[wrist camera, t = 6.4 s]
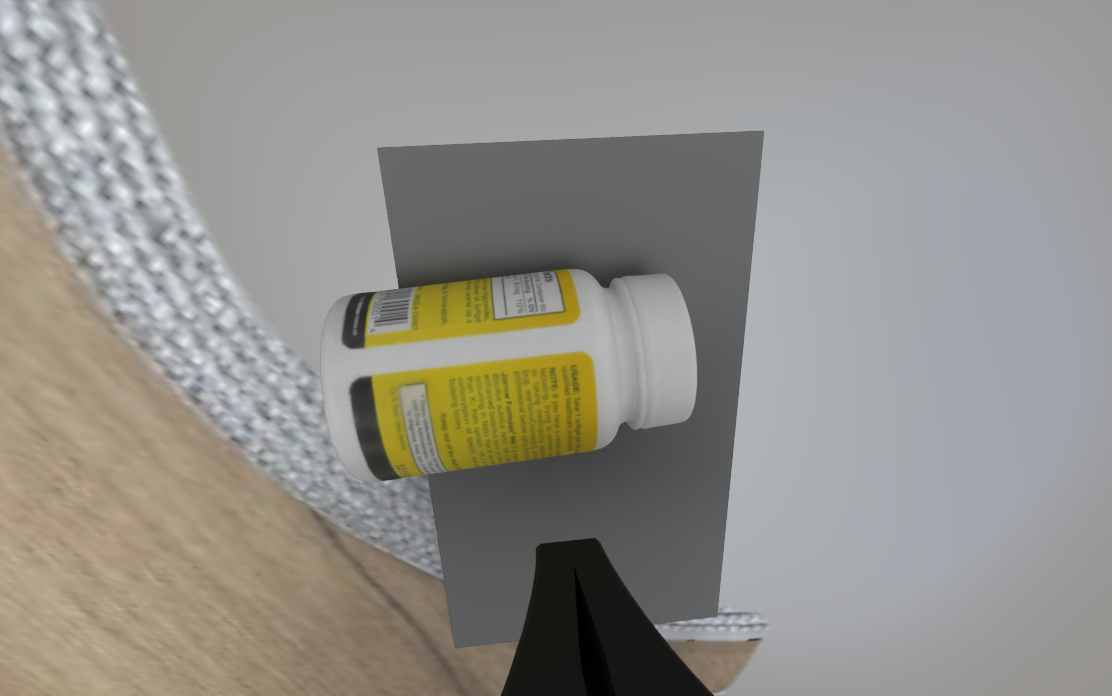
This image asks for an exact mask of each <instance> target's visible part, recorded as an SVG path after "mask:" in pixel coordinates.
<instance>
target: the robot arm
mask: <svg viewBox="0 0 1112 696" xmlns="http://www.w3.org/2000/svg"><path fill="white" fill-rule="evenodd" d="M501 696H714V695H713V694H712V693H711V692H710V691H709V690H708V689H707V688H706V687H705V685H704V684H703V683H702V682H701V681H700V680H699V679H698V678H697V677H696V676H695V675H694V674H693V672H692V671H691V670H690V669H689V668H688V667H687V666H686V665H685V663H684V662H683V661H682V660H681V659H680V658H679V656H678V655H677V654H676V653H675V652H674V651H673V649H672V648H671V647H670V646H669V644H668V643H667V642H666V641H665V639H664V638H663V637H662V636H661V634H660V633H659V632H658V631H657V629H656V628H655V627H654V625H653V624H652V623H651V621H650V620H649V619H648V617H647V616H646V615H645V613H644V612H643V610H642V609H641V608H640V606H639V605H638V603H637V602H636V601H635V599H634V598H633V596H632V595H631V594H630V592H629V591H628V589H627V588H626V586H625V585H624V583H623V581H622V580H621V578H620V577H619V575H618V573H617V572H616V570H615V569H614V567H613V565H612V563H611V562H610V560H609V558H608V556H607V555H606V553H605V551H604V549H603V547H602V545H601V543H600V541H599V540H597V539H596V538H588V539H579V540H570V541H560V542H551V543H542V544H540V545H539V546H538V547H536V565H535V575H534V581H533V587H532V593H531V598H530V602H529V606H528V610H527V614H526V619H525V623H524V627H523V630H522V634H521V637H520V640H519V644H518V647H517V650H516V653H515V656H514V660H513V663H512V666H511V669H510V672H509V675H508V678H507V680H506V683H505V686H504V689H503V691H502V694H501Z"/></svg>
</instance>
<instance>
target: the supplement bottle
mask: <svg viewBox="0 0 1112 696" xmlns="http://www.w3.org/2000/svg"><path fill="white" fill-rule="evenodd" d="M320 369H321V385H322V397H323V404H324V411H325V418H326V422H327V427H328V430H329V434H330V437H331V441H332V443H333V446H334V449H335V451H336V453H337V455H338V457H339V459H340V461H341V463H342V465H343V466H344V467H345V469H346V470H347V471H348V472H349V473H350V474H351V475H352V476H353V477H355V478H357V479H359V480H361V481H367V482H375V481H385V480H394V479H399V478H405V477H412V476H419V475H426V474H434V473H441V472H448V471H454V470H462V469H469V468H476V467H484V466H490V465H497V464H504V463H511V462H518V461H526V460H532V459H539V458H546V457H553V456H561V455H569V454H574V453H582V452H589V451H593V450H597V449H601V448H603V447H605V446H607V445H608V444H609V443H610V442H611V441H612V440H613V439H614V437H615V435H616V433H617V431H618V428H619V426H620V424H621V423H624V422H627V424H628V425H629V426H630V427H631V428H632V429H634V430H637V429H639V428H643V429H647V428H651V427H658V426H664V425H670V424H676V423H681V422H684V421H686V420H687V419H688V418H689V417H690V415H691V413H692V411H693V408H694V405H695V399H696V390H697V361H696V348H695V341H694V335H693V329H692V325H691V320H690V316H689V313H688V310H687V306H686V303H685V301H684V298H683V295H682V293H681V291H680V289H679V287H678V285H677V284H676V282H675V281H674V280H673V279H672V278H671V277H670V276H669V275H666V274H649V275H637V276H623V277H622V278H615V279H613V280H612V281H611V283H610V286H609V288H604V287H601V286H600V284H599V283H598V281H597V280H596V279H595V278H594V277H593V276H592V275H591V274H589V273H588V272H585V271H583V270H579V269H563V270H554V271H545V272H537V273H529V274H520V275H512V276H503V277H494V278H486V279H477V280H469V281H460V282H451V283H443V284H435V285H427V286H419V287H410V288H402V289H394V290H386V291H380V292H368V293H359V294H353V295H348V296H345V297H343V298H340V299H339V300H337V301H336V302H335V303H334V304H333V306H332V307H331V308H330V310H329V312H328V314H327V316H326V319H325V322H324V326H323V330H322V335H321V349H320Z"/></svg>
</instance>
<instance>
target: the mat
mask: <svg viewBox="0 0 1112 696" xmlns="http://www.w3.org/2000/svg"><path fill="white" fill-rule="evenodd" d="M763 137H764V131H746V132H724V133H701V134H680V135H657V136H634V137H612V138H611V137H610V138H589V139H567V140H566V139H565V140H542V141H520V142H497V143H476V144H452V145H430V146H407V147H386V148H385V147H384V148H377V150H378V156H379V162H380V169H381V175H382V182H383V188H384V195H385V201H386V208H387V214H388V221H389V227H390V233H391V240H392V246H393V253H394V259H395V266H396V272H397V278H398V285H399V289H402V288H410V287H419V286H427V285H435V284H443V283H451V282H460V281H469V280H477V279H486V278H494V277H503V276H512V275H520V274H529V273H537V272H545V271H554V270H563V269H579V270H583V271H585V272H588V273H589V274H591V275H592V276H593V277H594V278H595V279H596V280H597V281H598V283H599V284H600V286H601V287H604V288H609V286H610V283H611V281H612V280H613V279H615V278H622V277H623V276H637V275H649V274H666V275H669V276H670V277H671V278H672V279H673V280H674V281H675V282H676V284H677V285H678V287H679V289H680V291H681V293H682V295H683V298H684V301H685V303H686V306H687V310H688V313H689V316H690V320H691V325H692V329H693V335H694V341H695V348H696V361H697V390H696V399H695V405H694V408H693V411H692V413H691V415H690V417H689V418H688V419H687V420H686V421H684V422H681V423H676V424H670V425H664V426H658V427H651V428H647V429H643V428H639V429H637V430H634V429H632V428H631V427H630V426H629V425H628V424H627V422H624V423H621V424H620V426H619V428H618V431H617V433H616V435H615V437H614V439H613V440H612V441H611V442H610V443H609V444H608V445H607V446H605V447H603V448H601V449H597V450H593V451H589V452H582V453H574V454H569V455H561V456H553V457H546V458H539V459H532V460H526V461H518V462H511V463H504V464H497V465H490V466H484V467H476V468H469V469H462V470H454V471H448V472H441V473H434V474H428V479H429V485H430V491H431V498H432V504H433V511H434V517H435V524H436V530H437V537H438V543H439V550H440V556H441V562H442V569H443V575H444V582H445V588H446V595H447V601H448V608H449V614H450V620H451V627H452V633H453V640H454V646H455V648H463V647H471V646H479V645H487V644H495V643H504V642H512V641H519V640H520V637H521V634H522V630H523V627H524V623H525V619H526V614H527V610H528V606H529V602H530V598H531V593H532V587H533V581H534V575H535V565H536V547H538V546H539V545H540V544H542V543H551V542H560V541H570V540H579V539H588V538H596V539H597V540H599V541H600V543H601V545H602V547H603V549H604V551H605V553H606V555H607V556H608V558H609V560H610V562H611V563H612V565H613V567H614V569H615V570H616V572H617V573H618V575H619V577H620V578H621V580H622V581H623V583H624V585H625V586H626V588H627V589H628V591H629V592H630V594H631V595H632V596H633V598H634V599H635V601H636V602H637V603H638V605H639V606H640V608H641V609H642V610H643V612H644V613H645V615H646V616H647V617H648V619H649V620H650V621H651V623H652V624H660V623H668V622H676V621H684V620H692V619H701V618H709V617H717V612H718V602H719V592H720V581H721V571H722V560H723V551H724V540H725V529H726V520H727V509H728V499H729V489H730V488H729V487H730V478H731V468H732V458H733V447H734V437H735V427H736V416H737V405H738V396H739V385H740V375H741V364H742V354H743V344H744V333H745V323H746V312H747V302H748V292H749V281H750V272H751V261H752V251H753V241H754V230H755V220H756V210H757V199H758V188H759V179H760V168H761V158H762V148H763Z"/></svg>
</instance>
